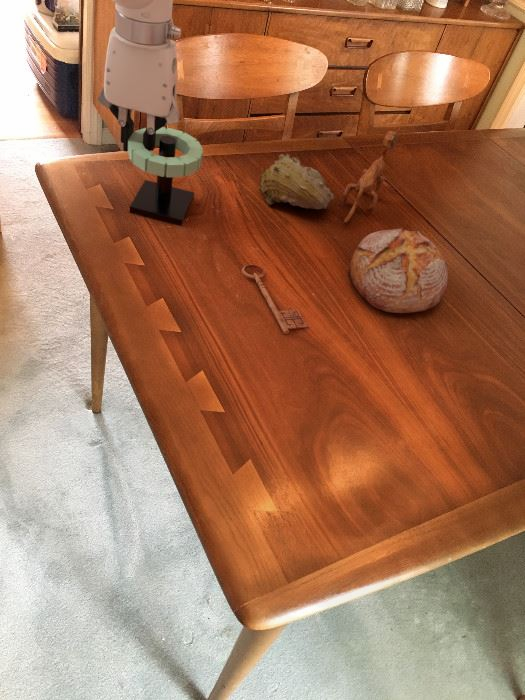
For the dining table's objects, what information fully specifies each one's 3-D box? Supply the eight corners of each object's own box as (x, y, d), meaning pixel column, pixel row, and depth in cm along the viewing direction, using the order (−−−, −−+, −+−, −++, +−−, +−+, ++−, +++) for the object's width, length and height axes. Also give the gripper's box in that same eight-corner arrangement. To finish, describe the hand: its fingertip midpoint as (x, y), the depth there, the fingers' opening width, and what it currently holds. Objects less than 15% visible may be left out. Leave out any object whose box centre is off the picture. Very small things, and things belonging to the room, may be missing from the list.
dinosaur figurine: (358, 235, 103) (385, 169, 93) (326, 220, 104) (350, 153, 94) (385, 194, 115) (412, 132, 105) (356, 182, 116) (380, 119, 106)
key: (307, 332, 83) (269, 266, 92) (309, 327, 83) (271, 262, 91) (273, 335, 81) (238, 267, 89) (275, 331, 80) (239, 263, 88)
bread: (331, 299, 91) (346, 249, 83) (365, 240, 104) (380, 192, 97) (428, 337, 87) (452, 288, 80) (449, 271, 101) (472, 224, 94)
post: (129, 212, 94) (131, 145, 85) (144, 185, 100) (148, 120, 91) (181, 225, 94) (189, 160, 85) (193, 198, 100) (201, 134, 91)
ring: (118, 165, 86) (118, 152, 84) (140, 132, 94) (141, 120, 92) (191, 184, 86) (193, 172, 85) (207, 150, 95) (209, 138, 93)
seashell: (320, 233, 103) (342, 187, 96) (247, 203, 102) (264, 154, 95) (327, 204, 111) (348, 159, 104) (260, 176, 110) (276, 129, 103)
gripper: (205, 34, 80) (191, 152, 93) (95, 3, 79) (96, 127, 92) (193, 52, 75) (180, 174, 88) (75, 19, 74) (80, 147, 87)
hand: (137, 149), depth 90 cm, fingers closed on ring, 2 cm apart
